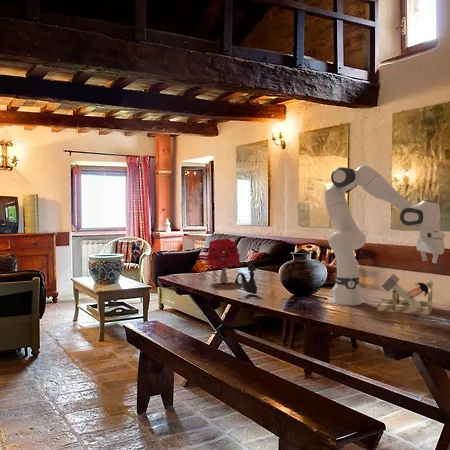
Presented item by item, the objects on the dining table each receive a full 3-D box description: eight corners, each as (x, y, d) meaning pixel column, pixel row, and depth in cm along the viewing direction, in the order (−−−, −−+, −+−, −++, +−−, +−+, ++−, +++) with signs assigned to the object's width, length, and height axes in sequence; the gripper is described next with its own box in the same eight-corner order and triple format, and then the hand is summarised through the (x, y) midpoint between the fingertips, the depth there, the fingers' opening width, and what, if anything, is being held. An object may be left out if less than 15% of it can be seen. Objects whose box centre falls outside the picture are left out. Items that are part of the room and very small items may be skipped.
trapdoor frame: (377, 310, 238) (377, 288, 237) (382, 304, 254) (382, 283, 253) (430, 315, 228) (430, 291, 227) (432, 307, 243) (432, 285, 243)
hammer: (381, 286, 238) (390, 277, 236) (385, 282, 251) (393, 273, 249) (414, 315, 232) (423, 306, 230) (416, 309, 245) (424, 301, 243)
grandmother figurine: (405, 291, 240) (428, 277, 235) (405, 288, 243) (427, 274, 239) (415, 303, 240) (438, 289, 236) (414, 300, 244) (437, 286, 239)
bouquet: (200, 281, 334) (200, 238, 333) (227, 278, 349) (226, 236, 348) (220, 285, 318) (220, 239, 317) (247, 281, 333) (247, 237, 332)
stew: (326, 279, 343) (326, 256, 343) (354, 283, 325) (354, 258, 324) (298, 283, 326) (298, 259, 325) (327, 287, 307) (327, 262, 306)
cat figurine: (231, 293, 288) (230, 263, 287) (250, 291, 295) (250, 261, 295) (240, 296, 280) (239, 264, 279) (260, 293, 287) (259, 263, 286)
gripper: (413, 232, 248) (413, 259, 248) (434, 234, 227) (433, 264, 228) (425, 232, 248) (425, 259, 249) (447, 234, 228) (446, 264, 229)
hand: (429, 261), depth 238 cm, fingers open, 8 cm apart
